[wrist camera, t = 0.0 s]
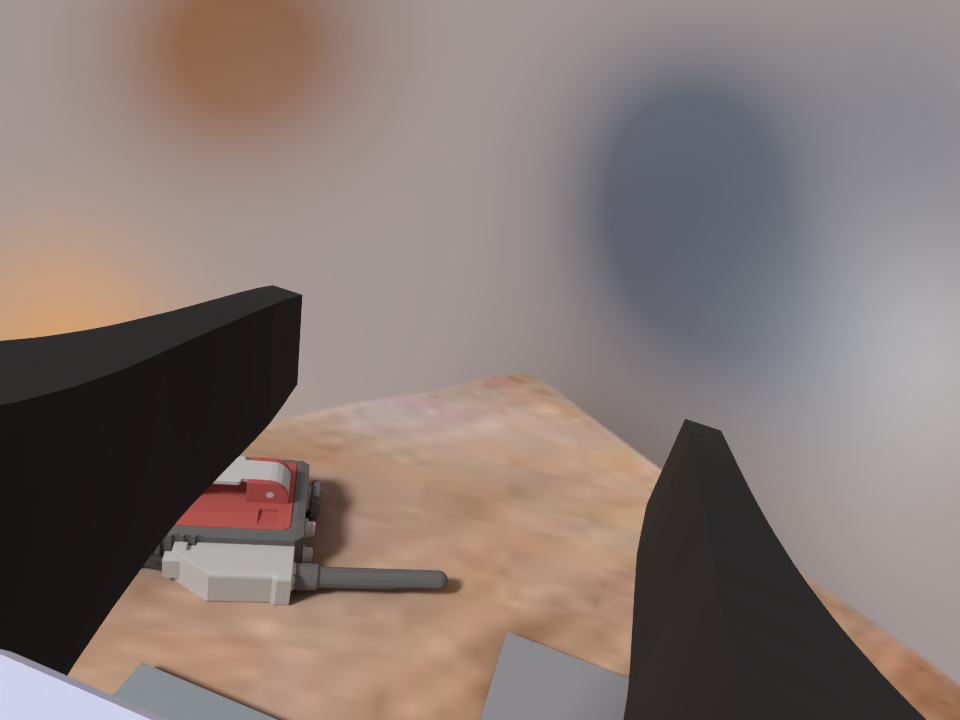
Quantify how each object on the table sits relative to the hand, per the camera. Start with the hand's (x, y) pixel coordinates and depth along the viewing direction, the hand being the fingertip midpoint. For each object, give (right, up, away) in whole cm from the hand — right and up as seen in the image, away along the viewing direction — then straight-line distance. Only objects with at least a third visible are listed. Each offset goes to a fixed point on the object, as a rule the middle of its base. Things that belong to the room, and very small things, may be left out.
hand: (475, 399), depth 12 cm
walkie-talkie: (-12, -10, +25) cm, 29 cm away
